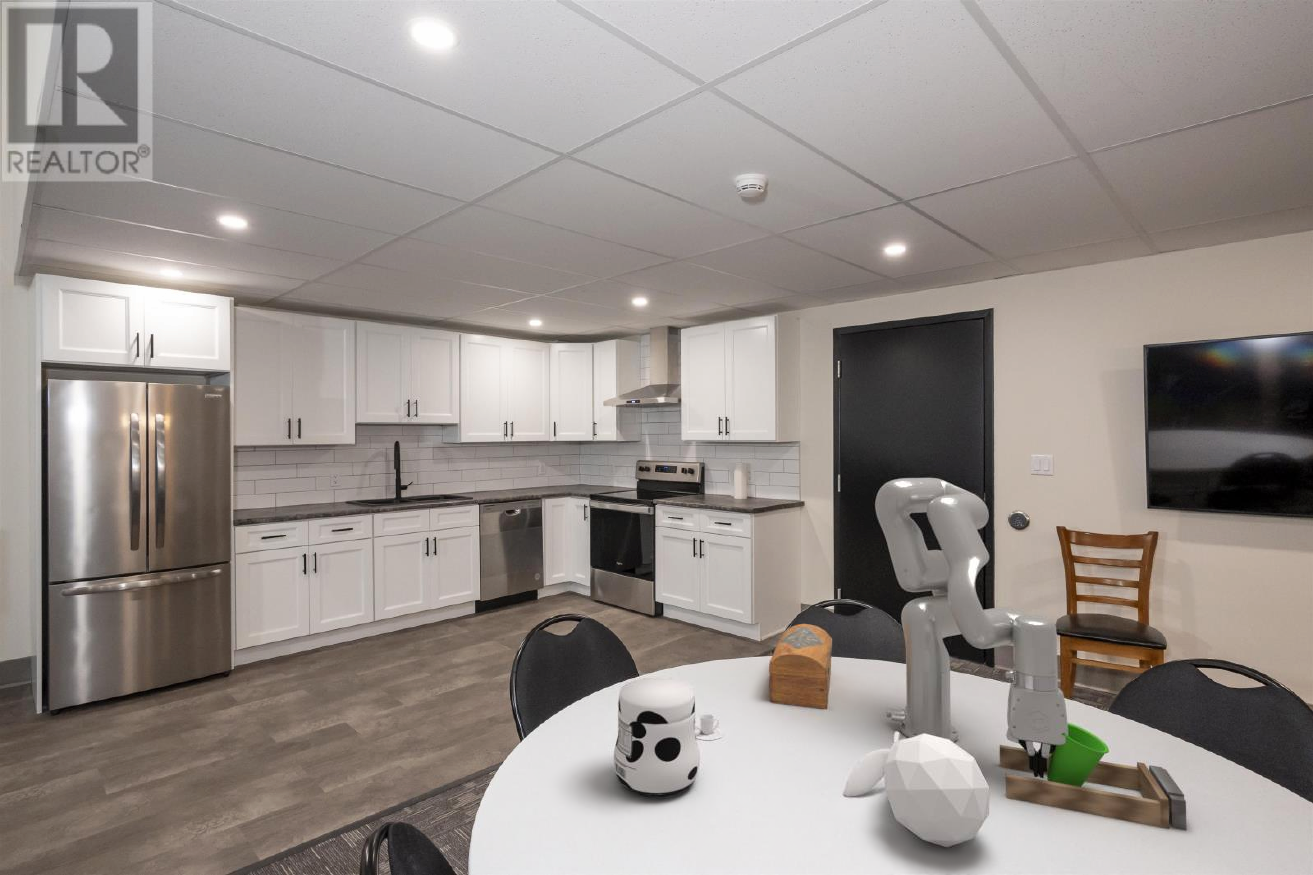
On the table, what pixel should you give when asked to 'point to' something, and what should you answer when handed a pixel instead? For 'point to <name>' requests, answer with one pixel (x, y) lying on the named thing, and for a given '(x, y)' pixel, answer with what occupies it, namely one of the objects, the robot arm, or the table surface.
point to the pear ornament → (927, 787)
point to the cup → (1075, 757)
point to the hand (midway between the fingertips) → (1038, 774)
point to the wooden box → (801, 667)
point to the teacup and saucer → (708, 727)
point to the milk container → (656, 736)
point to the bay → (1154, 785)
